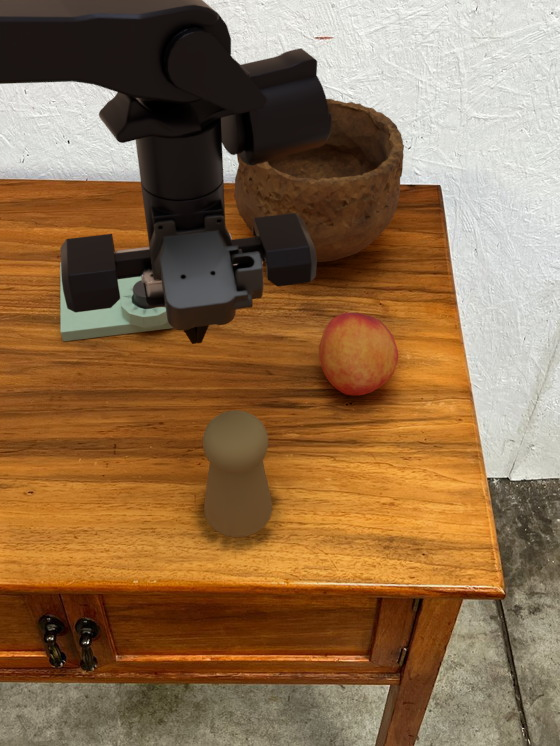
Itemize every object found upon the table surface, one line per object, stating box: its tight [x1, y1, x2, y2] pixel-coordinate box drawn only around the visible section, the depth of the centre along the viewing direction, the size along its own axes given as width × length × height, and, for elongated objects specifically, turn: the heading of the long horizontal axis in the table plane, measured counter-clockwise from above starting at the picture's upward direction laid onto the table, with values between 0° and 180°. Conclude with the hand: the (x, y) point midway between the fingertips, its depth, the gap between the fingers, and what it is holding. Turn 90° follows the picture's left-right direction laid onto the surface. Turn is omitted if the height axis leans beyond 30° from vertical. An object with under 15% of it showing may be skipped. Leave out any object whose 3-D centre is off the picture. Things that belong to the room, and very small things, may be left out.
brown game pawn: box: [202, 409, 274, 538], centre depth 64 cm, size 6×6×11 cm
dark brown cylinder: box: [133, 280, 152, 309], centre depth 82 cm, size 3×3×2 cm
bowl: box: [233, 98, 405, 263], centre depth 89 cm, size 19×19×15 cm
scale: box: [59, 261, 174, 342], centre depth 86 cm, size 12×13×3 cm
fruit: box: [318, 312, 399, 396], centre depth 76 cm, size 8×8×8 cm
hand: (196, 340), depth 65 cm, fingers closed
